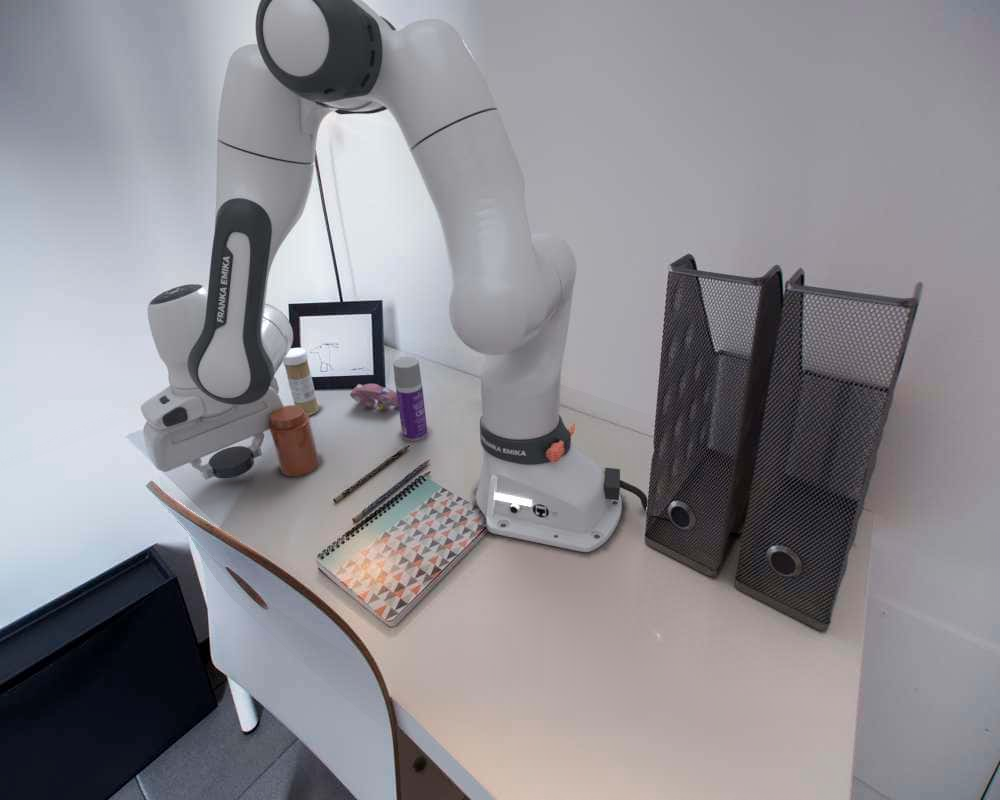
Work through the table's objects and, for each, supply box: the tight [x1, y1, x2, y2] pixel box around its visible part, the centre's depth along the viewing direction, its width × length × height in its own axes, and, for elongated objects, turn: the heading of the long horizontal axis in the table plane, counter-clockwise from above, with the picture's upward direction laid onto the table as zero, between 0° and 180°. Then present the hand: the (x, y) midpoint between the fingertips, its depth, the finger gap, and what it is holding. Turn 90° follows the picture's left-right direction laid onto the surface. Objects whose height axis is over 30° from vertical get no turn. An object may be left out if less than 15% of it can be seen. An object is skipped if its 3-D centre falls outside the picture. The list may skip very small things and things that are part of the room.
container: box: [392, 356, 428, 442], centre depth 96 cm, size 5×5×15 cm
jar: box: [269, 404, 321, 477], centre depth 89 cm, size 6×6×11 cm
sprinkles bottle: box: [282, 347, 320, 417], centre depth 105 cm, size 5×5×14 cm
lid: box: [208, 445, 255, 480], centre depth 87 cm, size 6×6×2 cm
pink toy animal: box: [350, 383, 398, 410], centre depth 108 cm, size 10×5×7 cm
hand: (233, 466), depth 87 cm, fingers closed on lid, 6 cm apart
